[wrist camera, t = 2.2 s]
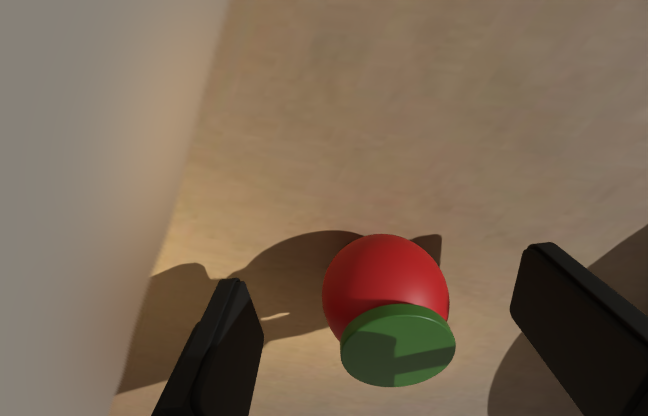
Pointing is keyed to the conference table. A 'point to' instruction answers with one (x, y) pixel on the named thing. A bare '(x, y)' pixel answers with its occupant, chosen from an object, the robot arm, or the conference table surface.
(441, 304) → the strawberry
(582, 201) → the conference table surface
